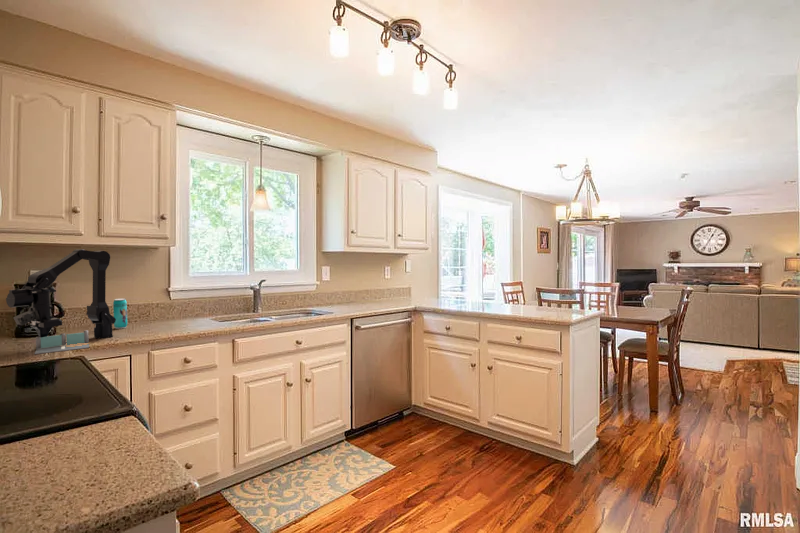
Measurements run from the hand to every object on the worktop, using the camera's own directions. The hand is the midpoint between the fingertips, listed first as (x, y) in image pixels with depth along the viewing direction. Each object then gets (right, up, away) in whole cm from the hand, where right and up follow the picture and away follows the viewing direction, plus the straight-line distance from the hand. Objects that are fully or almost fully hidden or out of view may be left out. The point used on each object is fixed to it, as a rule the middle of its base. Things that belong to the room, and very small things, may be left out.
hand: (42, 341), depth 173 cm
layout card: (+7, -3, +2) cm, 7 cm away
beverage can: (+3, -1, +45) cm, 45 cm away
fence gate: (+3, -2, +1) cm, 4 cm away
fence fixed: (+9, -2, +6) cm, 11 cm away
